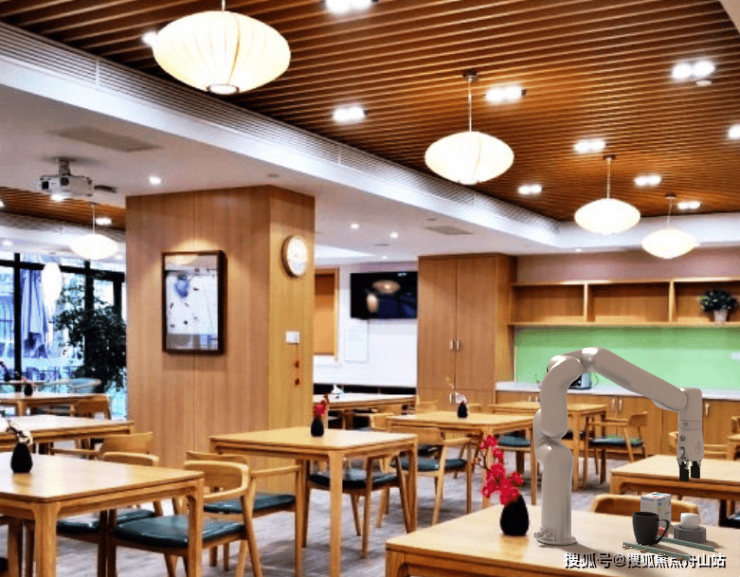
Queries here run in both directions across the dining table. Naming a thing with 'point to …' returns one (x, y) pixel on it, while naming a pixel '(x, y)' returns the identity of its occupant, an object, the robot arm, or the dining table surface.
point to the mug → (647, 527)
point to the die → (660, 532)
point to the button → (689, 521)
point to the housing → (690, 534)
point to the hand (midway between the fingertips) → (689, 479)
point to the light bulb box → (657, 505)
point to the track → (662, 552)
